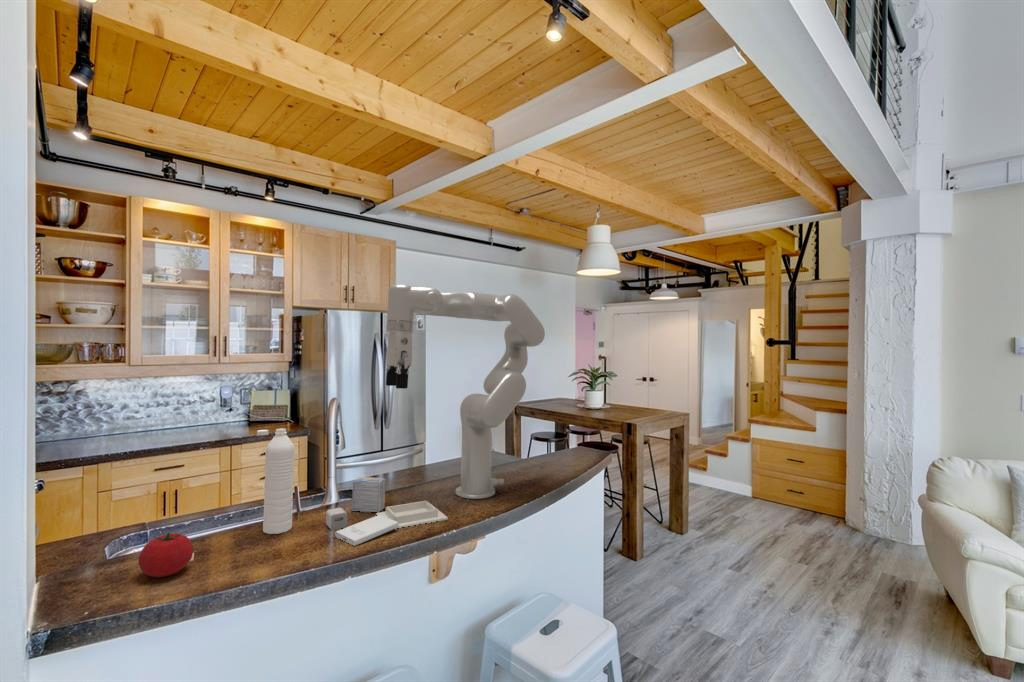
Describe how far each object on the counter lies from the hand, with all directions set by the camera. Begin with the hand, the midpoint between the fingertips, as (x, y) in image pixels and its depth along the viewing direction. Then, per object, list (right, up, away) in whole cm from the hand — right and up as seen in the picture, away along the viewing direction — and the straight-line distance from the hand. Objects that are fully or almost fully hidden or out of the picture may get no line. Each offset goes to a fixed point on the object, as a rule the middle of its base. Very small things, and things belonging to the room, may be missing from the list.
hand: (396, 386), depth 134 cm
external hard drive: (-2, -34, -20) cm, 39 cm away
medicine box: (-7, -35, -3) cm, 35 cm away
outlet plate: (+6, -35, -8) cm, 36 cm away
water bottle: (-26, -34, -19) cm, 47 cm away
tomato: (-35, -33, -42) cm, 64 cm away
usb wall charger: (-12, -34, -15) cm, 39 cm away
